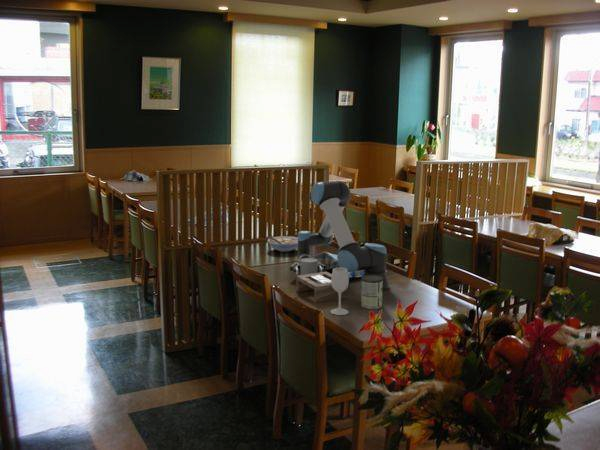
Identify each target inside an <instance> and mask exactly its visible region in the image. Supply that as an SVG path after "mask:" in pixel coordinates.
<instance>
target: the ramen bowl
mask: <svg viewBox="0 0 600 450" xmlns="http://www.w3.org/2000/svg"><path fill="white" fill-rule="evenodd" d="M266 238H268V239H267V242H268V244H269V245H270V247H271V248H272V249H273V250H276V251H278V252H281V253H289V252H291V251H293V250H296V249H298V236H297V237H296V236H284V235H283V236H274V237H273V236H271V235H267V236H266Z"/></svg>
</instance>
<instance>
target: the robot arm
mask: <svg viewBox="0 0 600 450" xmlns="http://www.w3.org/2000/svg"><path fill="white" fill-rule="evenodd" d="M351 196H352V195H351V190H350V187H349V185H348V184H347V183H345V182H344V181H342V180H333V181H331V180H330V181H320V182H315V183H314V184H313V186H312V187H311V191H310V199H311V202H312V203H313V204H315V205H318V206H319V209H320V210H322V211H324V213H325V217H324V220H323V221H322V224H321V226H320V227H319V230H318V232H315V233H311V231H308V230H301V231H298V232H297V238H298V247H297V254H296V256H297V257H296V259H297V262H296V261H295V262H294V263H293V264H292V265H290V266H289V267H290V268H289V270H290V271H291V272H292V271H293V273H296V276H299V270H300V259H303V258H312V257H311V247H319V246H320V247H321V246H327V245H330V244H332V243H333V239H334V238H335V240H336V242H337V244H338V247H339V249H338V251H337V252H338V253H337V256H336V258H337V260H336V261H337V264H338V267H342V268H346V269H347V271H348V273H355V272H360V271H363V274H362V276H365V275H378V276H381V277H383V283H382V291H386V290H388V289H389V288H390V283H389V279H388V276H387V255H388V253H387V247H386V246H385V245H383V244H379V243H372V242H369V243H367V242H366V243H365V244H364V246H363V247H361V246H360V243H359V242H358V241H355V239H354V237H353V234H352V232H351V229H350V228H349V225H348V222H347V220H346V218H345V215H344V213H343V211H344V209H345V207H347V206H349V203H350V200H351ZM333 235H334V236H333ZM326 270H327V265H325V264H324V263H320V262H319V261H317V271H319V273H320V272H325V271H326ZM360 288H361V289H362V279H361V278H360Z"/></svg>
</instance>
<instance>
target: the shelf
mask: <svg viewBox="0 0 600 450" xmlns="http://www.w3.org/2000/svg"><path fill="white" fill-rule="evenodd" d="M316 275H322V276H324V277H325V278H327V279H329V280H331V277H332V273H330V272H328V271H322V272H320V271H319V272H317V273H313V274H306V275H300V274H298V275H296V276H295V277H296V279H295V280H296V285H295V286H296V288H295V289H296V291H297V293H298V292H303V291H305V292H306V291H312V290H314V291H313V293H314V295H313V296H314V303H322V302H326V301H333V300H339V294H338V292H337V291H335V290H334V289H333V287H332V284H331V282H329V283H321V284H317V283H315V282H313V281H311V280H310V276H316ZM348 288H349V286H348V287H347V289H346V290H345V291H343V292H342V293H341V299H346V298H348V295H349V294H348V293H349V292H348Z"/></svg>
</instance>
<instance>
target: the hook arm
mask: <svg viewBox="0 0 600 450" xmlns="http://www.w3.org/2000/svg"><path fill="white" fill-rule="evenodd" d="M310 280H311V281H313V282H315V283H317V284H321V283H329V282H331V280H329V279H327V278H325V277H324V276H322V275H316V276H310Z"/></svg>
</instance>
